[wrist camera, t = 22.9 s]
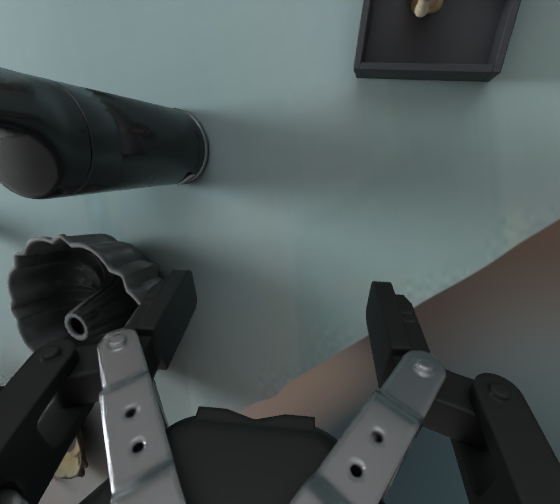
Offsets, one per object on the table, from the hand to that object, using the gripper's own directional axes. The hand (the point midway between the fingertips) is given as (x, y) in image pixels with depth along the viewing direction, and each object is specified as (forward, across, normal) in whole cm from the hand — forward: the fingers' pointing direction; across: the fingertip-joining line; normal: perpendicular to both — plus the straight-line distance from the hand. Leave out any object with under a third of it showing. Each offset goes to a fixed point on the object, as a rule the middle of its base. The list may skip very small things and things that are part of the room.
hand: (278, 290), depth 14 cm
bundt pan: (+26, +28, +26) cm, 46 cm away
